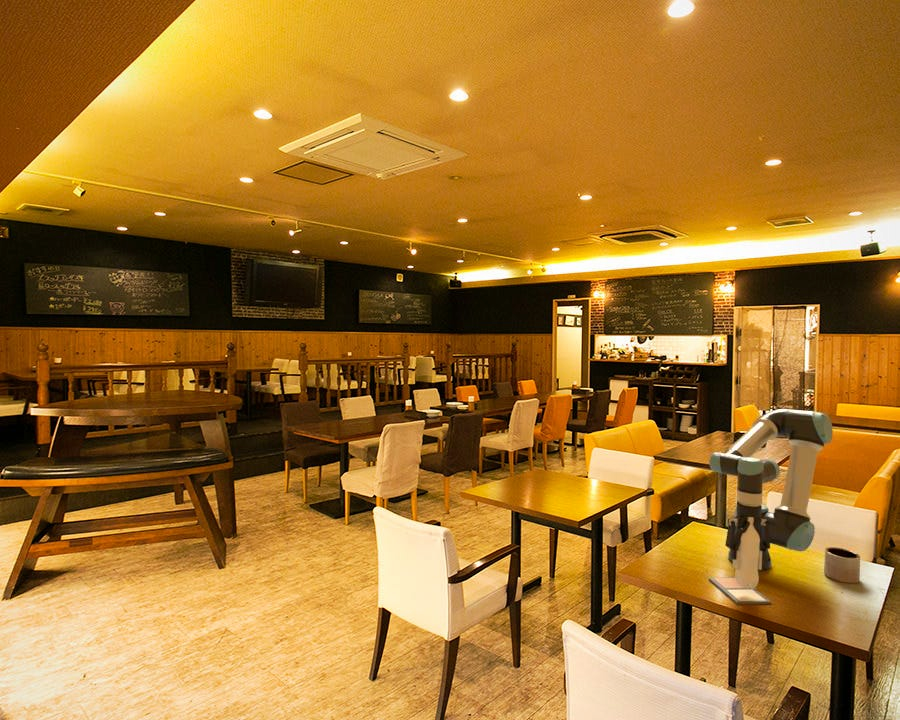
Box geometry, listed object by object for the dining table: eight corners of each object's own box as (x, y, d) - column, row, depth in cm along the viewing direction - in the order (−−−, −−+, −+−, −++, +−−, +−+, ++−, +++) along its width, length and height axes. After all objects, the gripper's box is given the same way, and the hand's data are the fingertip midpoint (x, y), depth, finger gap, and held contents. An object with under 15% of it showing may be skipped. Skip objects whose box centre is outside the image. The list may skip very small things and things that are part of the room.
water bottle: (730, 580, 185) (732, 511, 184) (749, 580, 185) (751, 510, 184) (743, 590, 177) (745, 518, 176) (763, 589, 178) (765, 517, 177)
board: (740, 579, 195) (740, 577, 195) (771, 603, 177) (771, 601, 177) (708, 579, 195) (708, 577, 195) (736, 604, 177) (736, 601, 177)
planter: (854, 574, 200) (855, 550, 200) (863, 586, 190) (864, 560, 190) (820, 569, 205) (821, 545, 204) (827, 580, 195) (828, 555, 195)
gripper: (770, 499, 184) (768, 563, 185) (714, 499, 183) (712, 563, 184) (784, 506, 177) (782, 572, 178) (727, 506, 176) (724, 573, 177)
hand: (746, 568), depth 181 cm, fingers closed on water bottle, 7 cm apart
